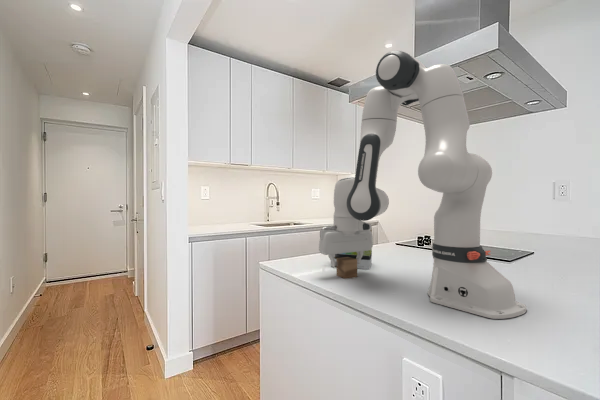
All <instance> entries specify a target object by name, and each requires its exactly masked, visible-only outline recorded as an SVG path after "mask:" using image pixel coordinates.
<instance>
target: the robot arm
mask: <svg viewBox="0 0 600 400" xmlns="http://www.w3.org/2000/svg"><path fill="white" fill-rule="evenodd" d="M375 77H376V80H377V82H378V83H379V85H378V86H375V87H372V88H370V90H369V91H368V92H367V94H366V97H365V100H364V104H363V108H362V115H361V126H360V139H359V149H358V155H357V160H356V161H357V162H356V168H355V175H354V177H352V176H351V177H345V178H341V179H339V180H337V181H336V183H335V185H334V190H333V207H334V213H333V225H331V226H330V225H329V226H326V225H325V226H323V227H322V228H321V229H320V231H319V240H318V241H319V243H318V251H319V253H320V254H321V255H324V256H328V258H329V260H330V267H331V266H332V267H331V268H337V267H338V265H337V264H338V262H337V261H335V259H334V257H335V254H340V253H350V252H357V253H358V255H357V257H356V258H355V259H357V264H360V263H361V258H362V256H363V251H369V250H371V249H372V250H373V243H374V242H373V240H374V239H373V238H374V237H373V231H372V232H371V231H370V230H371V229H372V230H373V226H372V224H371V223H368V222H366V221H369V220H372V219H373V218H376V217H378V216H381V215H382V214H384V213H385V212H386V211H387V210H388V208H389V203H390V201H389V196H388V195H387V193H386V192H385V191H384V190H382V189H381V188H379V187H378V188H377V178H378V171H379V170H378V169H379V165H380V163H379V162H380V159H381V156H382V155H383V153H384V152H385V151H386V150H387V149H388V148H389V147H390V146H391V145H392V144H393V142H394V139H395V136H396V133H397V132H396V131H397V122H398V112H399V108H400V106H401V105H403V106H409V105H411V104H413V103H416V102H418V103H419V107H420V112H421V117H422V118H421V119H422V122H423V127H424V128H423V129H424V135H425V148H424V155H423V157H422V159H421V160H420V161H419V165H418V168H417V176H418V179H419V182H420V183H421V184H422V185H423V186H424V187H426V188H427V189H429V190H431V191H434V192H437V193H440V194H441V193H442V197H441V200H440V204H439V207H438V208H437V210H436V211H435V213H434V216H433V243H432V245H431V246H432V247H431V250H432V251H431V252H432V253H431V254H432V258H433V263H432V265H433V266H432V274H431V280H430V283H429V284H430V285H429V288H428V291H427V295H428V296H429V297H430V298H429V301H430V302H431V303H432V304H433V303H434V304H437V305H441V306H445V307H448V308H452V309H456V310H459V311H463V312H466V313H470V314H473V315H477V316H480V317H483V318H488V319H494V320H498V319H499V320H502V319H504V320H505V319H511V318H515V317H519V316H522V315H524V314H525V313H526V312H527V305H526V304H525V303H523V302H519V301H517V300H516V295H515V290H514V287H513V283H512V282H511V281H510V280H509V279H508V278H507V277H505V276H504V275H503V274H502V273H501V272H499V270H497V269H496V268H495V267H494V266H492V264H491V263H489V262H488V261H487V260H488V259H487V256H491V252H492V251H491V250H484V248H483V247H482V245H481V217H482V216H481V215H482V209H483V204H484V200H485V197H486V190H487V188H488V187H487V186H488V185H489V183H490V182H491V180H492V176H493V169H492V167H491V164H490V163H489V162H488V161H487V160H486V159H485V158H483V157H482V156H480V155H478V154H475V153H469V152H468V150H467V135H468V130H469V129H470V126H471V125H470V124H471V123H470V118H469V113H468V111H467V105H466V101H465V97H464V93H463V89H462V86H461V83H460V80H459V77H458V76H457V73H456V71H455V70H454V69H453V67H452V66H451V65H449V64H445V63H438V64H434V65H431V66H429V67H427V66H425V64H423V62H421V61H420V60H419V59H417V58H416V57H414V56H412V55H410V54H409V53H407V52H406V51H402V50H392V51H388V52H387V53H385V54H384V55H383V56H382V57H381V58H380V60H378V63H377V66H376V69H375Z"/></svg>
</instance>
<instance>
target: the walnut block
mask: <svg viewBox="0 0 600 400" xmlns="http://www.w3.org/2000/svg"><path fill="white" fill-rule="evenodd" d="M336 261H337V262H338V264H337V265H338V267H336V276H337V277H339V278H342V279H344V280H346V279H353V278H357V277H358V268H357V259H354V258H350V257H343V258H336Z"/></svg>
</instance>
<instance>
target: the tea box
mask: <svg viewBox="0 0 600 400" xmlns="http://www.w3.org/2000/svg"><path fill="white" fill-rule="evenodd" d="M370 231H371V232H372V233H373V228H372V229H371V230H370ZM372 254H373V248H372V249H371V250H369V251H363V256H362V258H361V263H360V264H357V269H359V270H361V269H362V270H370V268H371V265H372V257H373V255H372ZM357 255H358V253H357V252H350V253H340V254H335V257H334V259H335V261H336V258H343V257H350V258H354V259H355V258H356V257H357ZM330 268H333V267H332V266H331V265H330Z"/></svg>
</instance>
